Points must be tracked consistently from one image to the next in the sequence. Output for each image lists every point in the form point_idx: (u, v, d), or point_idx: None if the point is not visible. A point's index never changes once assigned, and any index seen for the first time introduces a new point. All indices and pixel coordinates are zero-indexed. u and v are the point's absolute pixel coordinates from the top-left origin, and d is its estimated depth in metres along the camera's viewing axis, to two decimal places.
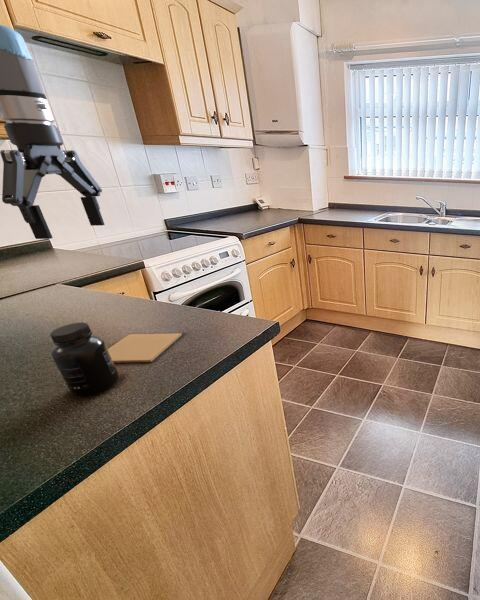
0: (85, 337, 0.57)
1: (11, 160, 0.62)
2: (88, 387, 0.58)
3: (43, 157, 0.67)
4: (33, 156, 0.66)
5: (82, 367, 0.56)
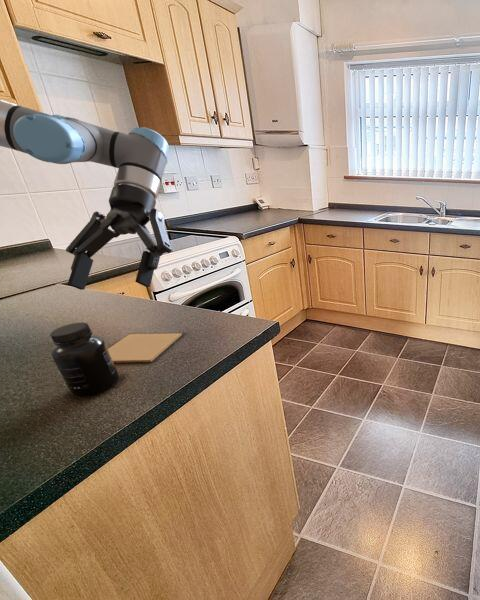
0: (85, 337, 0.57)
1: (160, 219, 0.70)
2: (88, 387, 0.58)
3: None
4: None
5: (82, 367, 0.56)
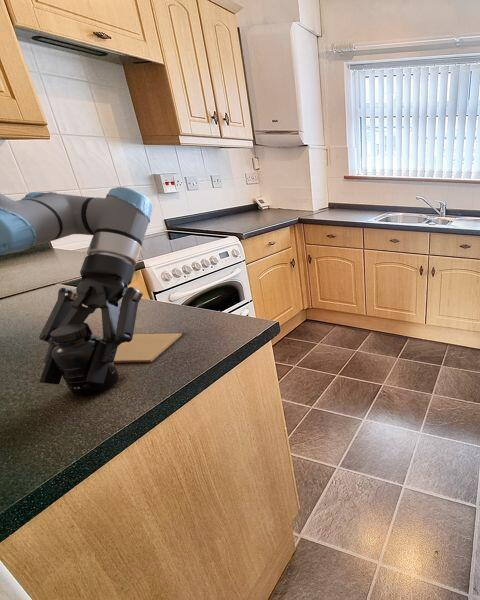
0: (85, 337, 0.57)
1: (135, 299, 0.63)
2: (88, 387, 0.58)
3: None
4: None
5: (83, 367, 0.56)
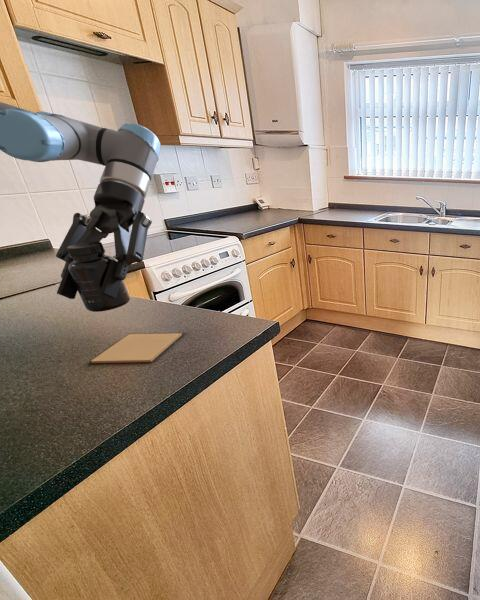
0: (99, 253, 0.60)
1: (145, 225, 0.66)
2: (101, 301, 0.62)
3: None
4: None
5: (97, 281, 0.60)
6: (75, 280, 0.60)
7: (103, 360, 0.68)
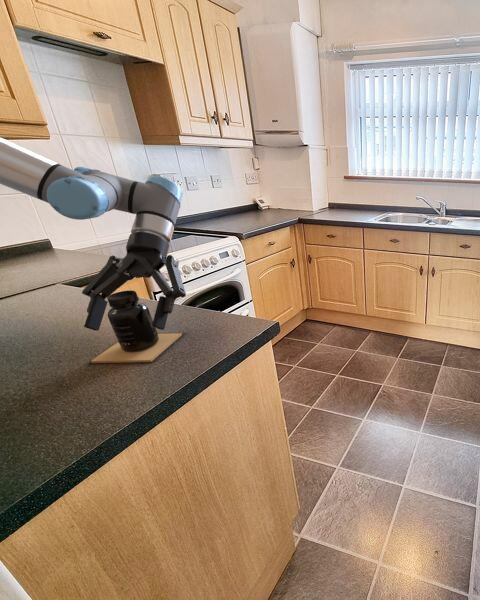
0: (134, 302, 0.69)
1: (175, 265, 0.75)
2: (136, 343, 0.70)
3: None
4: None
5: (132, 326, 0.69)
6: (114, 326, 0.68)
7: (103, 360, 0.68)
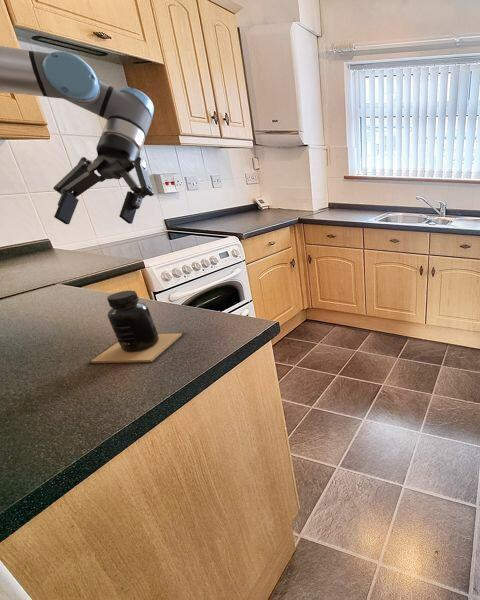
0: (134, 302, 0.69)
1: (144, 167, 0.78)
2: (136, 343, 0.70)
3: None
4: None
5: (132, 326, 0.69)
6: (114, 326, 0.68)
7: (103, 360, 0.68)
